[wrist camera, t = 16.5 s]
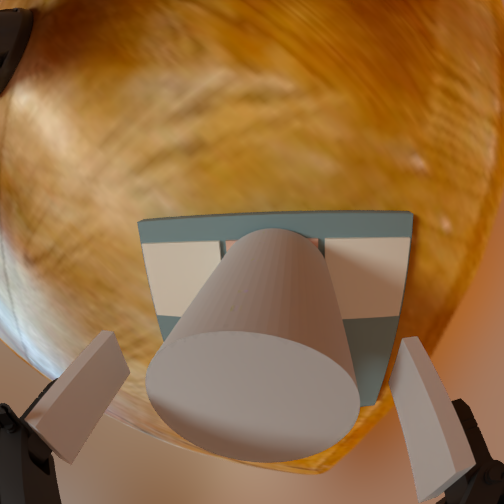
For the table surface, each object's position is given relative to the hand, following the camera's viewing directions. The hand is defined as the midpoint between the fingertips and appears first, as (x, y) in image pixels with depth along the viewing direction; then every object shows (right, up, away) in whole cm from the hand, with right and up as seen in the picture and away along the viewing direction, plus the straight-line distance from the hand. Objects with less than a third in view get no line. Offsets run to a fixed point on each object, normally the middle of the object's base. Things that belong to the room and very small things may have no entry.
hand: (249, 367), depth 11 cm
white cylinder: (+2, +3, +9) cm, 10 cm away
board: (+2, -2, +12) cm, 12 cm away
